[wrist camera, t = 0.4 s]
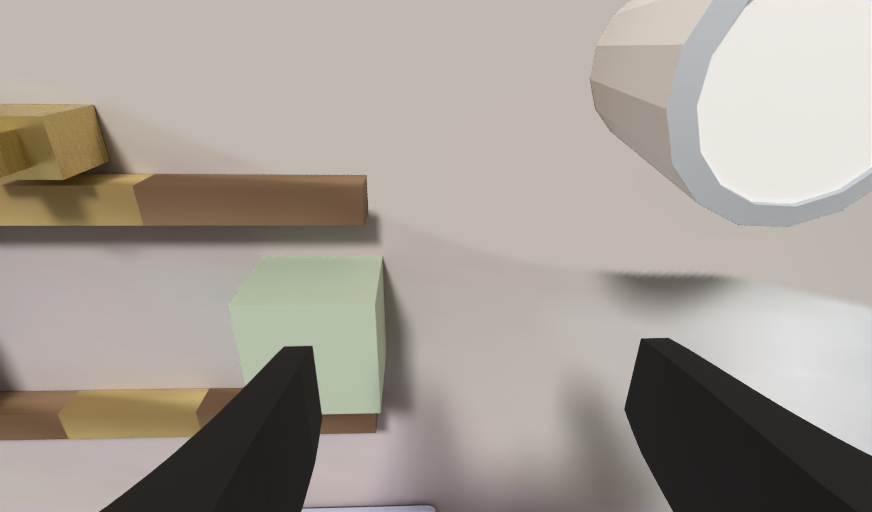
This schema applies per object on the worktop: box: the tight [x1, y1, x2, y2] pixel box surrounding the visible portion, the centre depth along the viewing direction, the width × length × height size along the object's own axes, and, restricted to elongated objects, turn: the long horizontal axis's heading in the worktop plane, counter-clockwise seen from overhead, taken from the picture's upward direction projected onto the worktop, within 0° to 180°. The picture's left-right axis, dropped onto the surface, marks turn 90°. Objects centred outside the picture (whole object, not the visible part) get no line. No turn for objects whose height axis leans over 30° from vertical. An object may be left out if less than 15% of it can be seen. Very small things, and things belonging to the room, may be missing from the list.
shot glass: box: [590, 0, 872, 227], centre depth 13 cm, size 7×7×7 cm
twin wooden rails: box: [0, 174, 378, 440], centre depth 19 cm, size 12×24×2 cm, turn 89°
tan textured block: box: [0, 104, 110, 180], centre depth 15 cm, size 2×3×4 cm, turn 89°
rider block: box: [228, 256, 386, 414], centre depth 19 cm, size 5×5×4 cm
